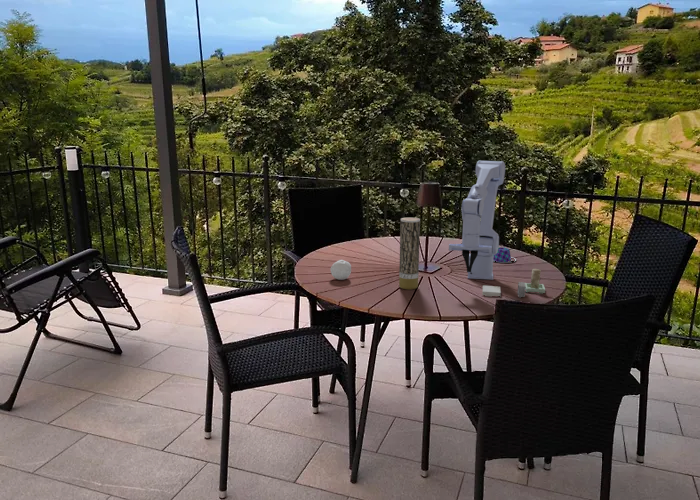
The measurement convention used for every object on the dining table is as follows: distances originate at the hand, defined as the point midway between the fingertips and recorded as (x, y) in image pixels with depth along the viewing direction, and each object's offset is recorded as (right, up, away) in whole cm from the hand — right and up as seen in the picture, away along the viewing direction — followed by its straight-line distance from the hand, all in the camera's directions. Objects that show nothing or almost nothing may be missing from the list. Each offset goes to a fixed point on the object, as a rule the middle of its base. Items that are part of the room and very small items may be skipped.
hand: (468, 271), depth 193 cm
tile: (+8, -8, 0) cm, 11 cm away
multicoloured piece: (+24, +3, +44) cm, 50 cm away
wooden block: (+18, -8, -2) cm, 19 cm away
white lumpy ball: (-45, -4, +16) cm, 48 cm away
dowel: (+24, -6, +3) cm, 25 cm away
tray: (+24, -7, +3) cm, 25 cm away
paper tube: (-20, -6, +7) cm, 22 cm away
